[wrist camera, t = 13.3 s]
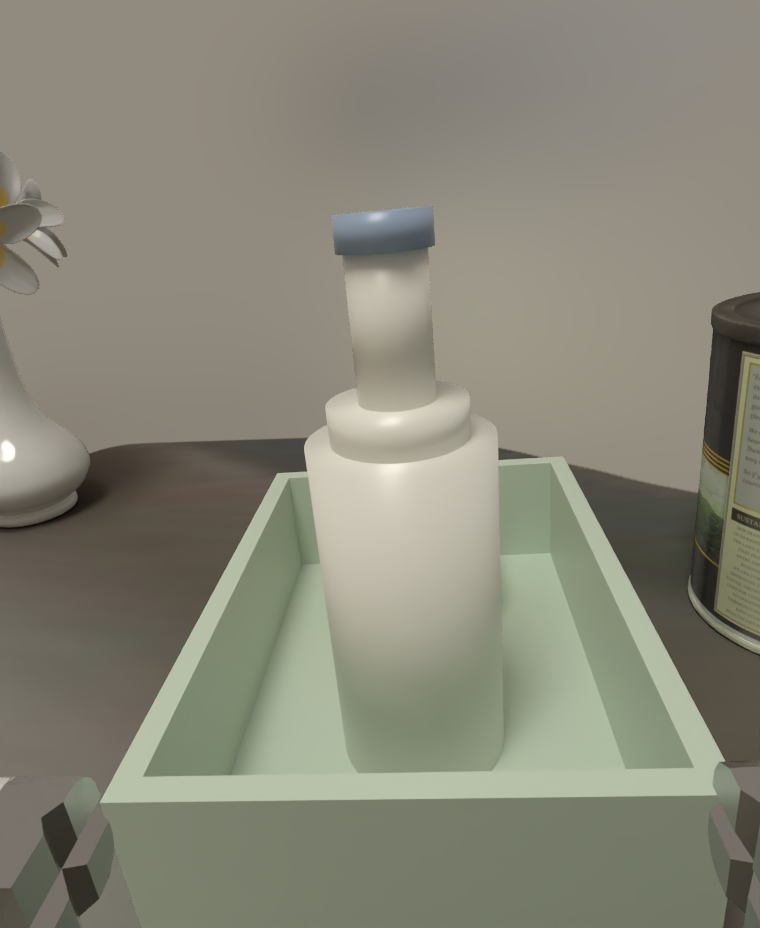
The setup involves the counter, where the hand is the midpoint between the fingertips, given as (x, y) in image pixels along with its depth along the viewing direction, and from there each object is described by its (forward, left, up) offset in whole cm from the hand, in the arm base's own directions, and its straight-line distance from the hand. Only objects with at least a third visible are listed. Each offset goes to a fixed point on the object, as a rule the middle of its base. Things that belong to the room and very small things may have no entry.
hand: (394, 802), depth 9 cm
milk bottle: (0, -13, -12) cm, 17 cm away
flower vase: (+29, -37, -12) cm, 49 cm away
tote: (0, -16, -12) cm, 20 cm away
